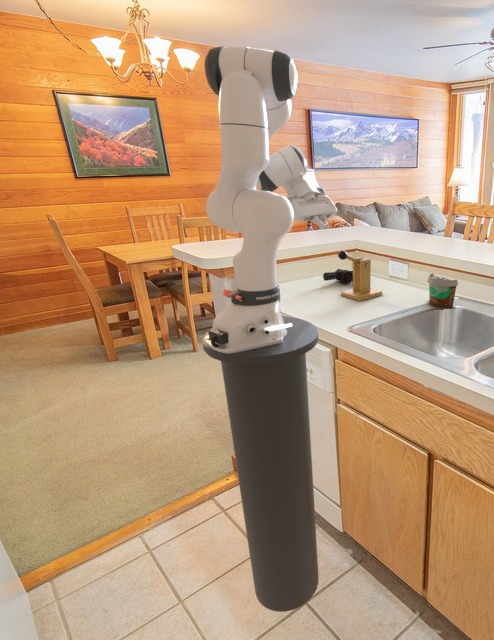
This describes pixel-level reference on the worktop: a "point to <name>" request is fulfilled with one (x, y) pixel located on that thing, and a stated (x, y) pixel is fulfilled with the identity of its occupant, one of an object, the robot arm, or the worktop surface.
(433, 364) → the worktop surface
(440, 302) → the food container
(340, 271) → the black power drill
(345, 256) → the latch lever
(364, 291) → the lever stand
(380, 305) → the worktop surface
